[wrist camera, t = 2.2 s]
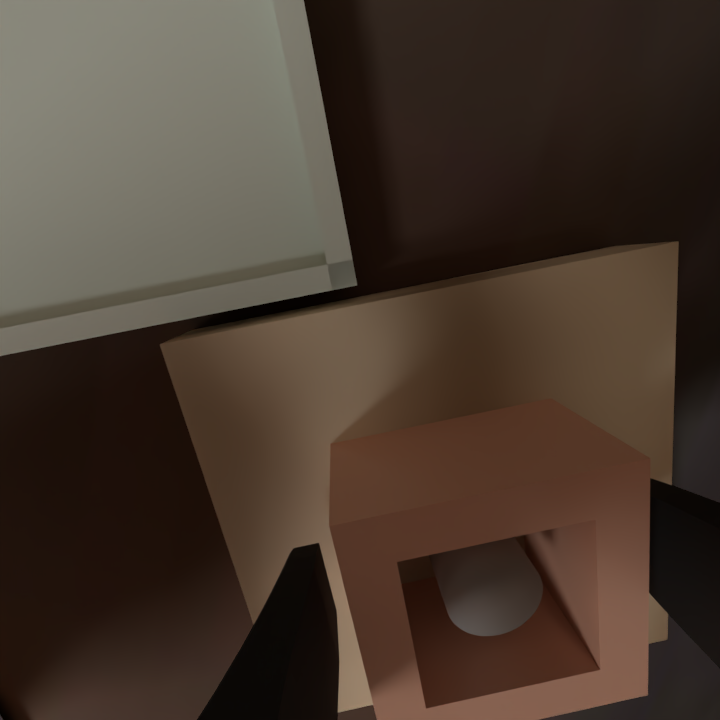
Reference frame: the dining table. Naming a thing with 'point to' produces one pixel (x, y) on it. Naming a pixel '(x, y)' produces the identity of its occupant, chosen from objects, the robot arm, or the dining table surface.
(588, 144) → the dining table surface
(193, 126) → the tray
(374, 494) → the ring
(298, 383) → the board
